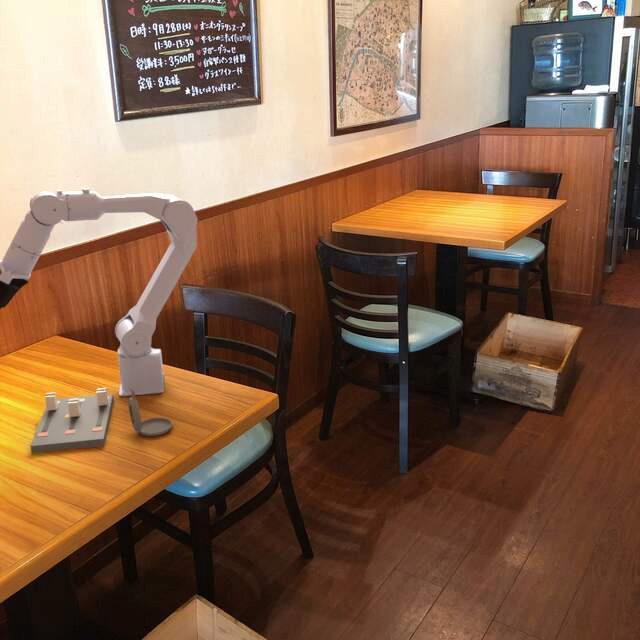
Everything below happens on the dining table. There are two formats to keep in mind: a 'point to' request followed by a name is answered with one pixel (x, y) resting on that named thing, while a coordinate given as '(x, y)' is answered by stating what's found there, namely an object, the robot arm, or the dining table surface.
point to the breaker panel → (73, 426)
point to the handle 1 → (51, 401)
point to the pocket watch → (150, 425)
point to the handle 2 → (102, 396)
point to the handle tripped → (74, 407)
